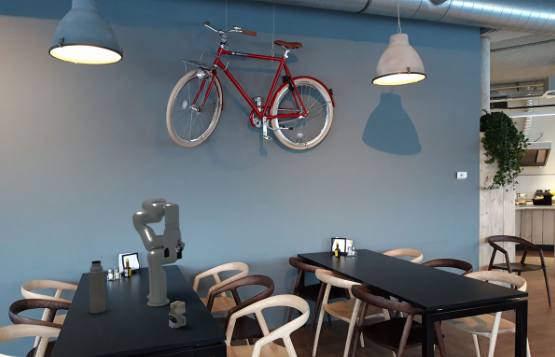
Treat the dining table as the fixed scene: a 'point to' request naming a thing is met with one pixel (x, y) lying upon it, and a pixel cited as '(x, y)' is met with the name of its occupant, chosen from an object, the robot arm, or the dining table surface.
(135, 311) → the dining table surface
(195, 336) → the dining table surface
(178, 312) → the birch cube
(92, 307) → the thermos bottle
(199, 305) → the dining table surface
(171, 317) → the mug
